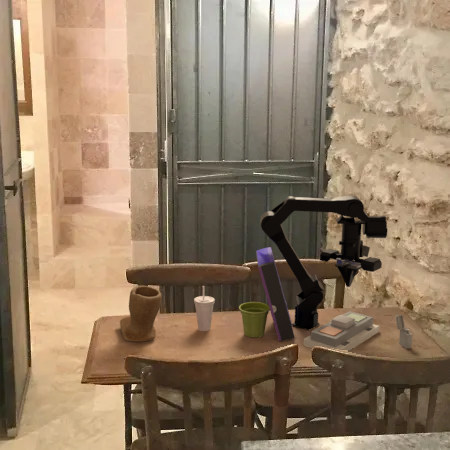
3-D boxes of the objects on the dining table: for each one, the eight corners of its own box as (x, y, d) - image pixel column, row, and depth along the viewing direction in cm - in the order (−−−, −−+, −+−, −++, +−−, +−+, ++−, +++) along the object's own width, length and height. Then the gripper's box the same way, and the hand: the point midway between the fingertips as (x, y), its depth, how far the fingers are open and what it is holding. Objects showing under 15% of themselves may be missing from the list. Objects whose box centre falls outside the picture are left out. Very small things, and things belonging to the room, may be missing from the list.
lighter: (411, 348, 192) (413, 322, 190) (406, 348, 191) (408, 322, 190) (398, 338, 199) (400, 313, 197) (393, 339, 198) (395, 313, 196)
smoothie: (190, 331, 203) (190, 287, 199) (199, 323, 208) (199, 281, 205) (209, 334, 200) (209, 290, 197) (217, 326, 206) (218, 284, 203)
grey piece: (303, 345, 193) (304, 330, 192) (344, 322, 211) (345, 309, 210) (339, 356, 186) (340, 341, 185) (378, 331, 203) (379, 318, 202)
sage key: (342, 325, 203) (343, 317, 202) (351, 320, 206) (351, 313, 206) (357, 329, 200) (357, 321, 199) (365, 324, 203) (365, 316, 203)
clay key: (318, 339, 192) (318, 331, 192) (327, 333, 196) (327, 326, 195) (333, 343, 189) (333, 335, 188) (342, 338, 193) (342, 330, 192)
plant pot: (232, 334, 201) (232, 307, 199) (252, 325, 207) (252, 299, 205) (255, 343, 194) (256, 315, 192) (275, 334, 201) (276, 307, 199)
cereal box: (275, 319, 212) (255, 250, 207) (289, 316, 212) (270, 246, 207) (279, 341, 195) (257, 266, 190) (294, 337, 195) (274, 262, 190)
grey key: (331, 327, 197) (331, 319, 196) (339, 322, 201) (340, 314, 200) (346, 331, 194) (346, 323, 193) (354, 326, 198) (354, 318, 197)
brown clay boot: (164, 343, 194) (164, 294, 190) (123, 346, 191) (122, 297, 188) (157, 324, 208) (157, 278, 205) (119, 327, 206) (118, 280, 202)
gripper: (391, 237, 201) (388, 286, 205) (338, 228, 213) (335, 274, 217) (374, 244, 193) (371, 295, 197) (319, 234, 205) (317, 282, 208)
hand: (348, 286), depth 205 cm, fingers closed
